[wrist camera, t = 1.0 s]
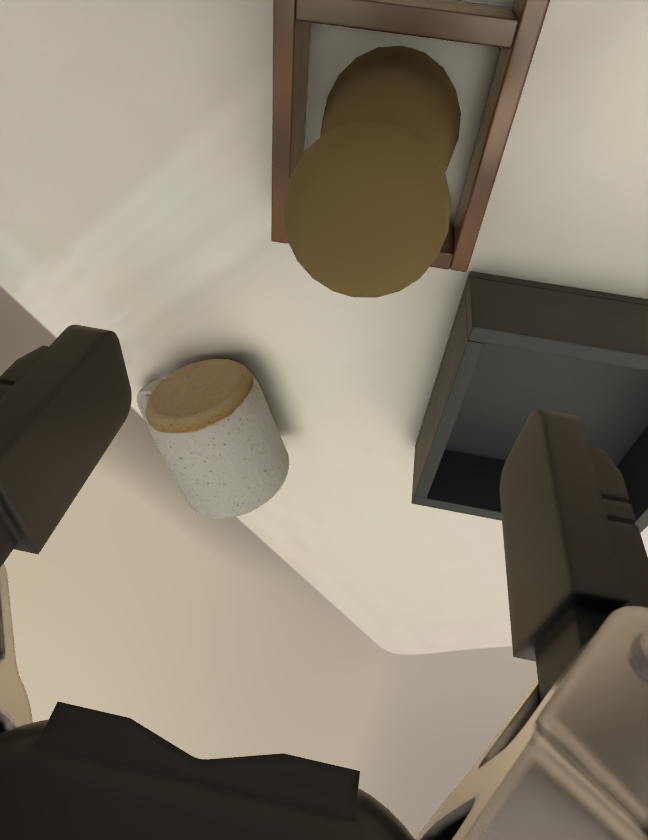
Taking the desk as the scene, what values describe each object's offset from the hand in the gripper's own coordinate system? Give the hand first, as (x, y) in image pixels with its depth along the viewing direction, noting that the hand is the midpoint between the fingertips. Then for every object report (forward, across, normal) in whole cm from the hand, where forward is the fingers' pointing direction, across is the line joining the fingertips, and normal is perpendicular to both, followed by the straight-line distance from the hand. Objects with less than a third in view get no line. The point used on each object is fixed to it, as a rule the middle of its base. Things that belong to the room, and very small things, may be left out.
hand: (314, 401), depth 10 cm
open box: (+18, -12, +13) cm, 25 cm away
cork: (+18, 0, 0) cm, 18 cm away
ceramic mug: (+18, +9, +19) cm, 28 cm away
